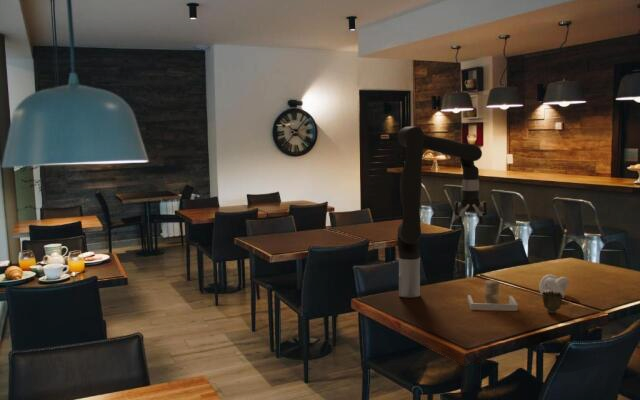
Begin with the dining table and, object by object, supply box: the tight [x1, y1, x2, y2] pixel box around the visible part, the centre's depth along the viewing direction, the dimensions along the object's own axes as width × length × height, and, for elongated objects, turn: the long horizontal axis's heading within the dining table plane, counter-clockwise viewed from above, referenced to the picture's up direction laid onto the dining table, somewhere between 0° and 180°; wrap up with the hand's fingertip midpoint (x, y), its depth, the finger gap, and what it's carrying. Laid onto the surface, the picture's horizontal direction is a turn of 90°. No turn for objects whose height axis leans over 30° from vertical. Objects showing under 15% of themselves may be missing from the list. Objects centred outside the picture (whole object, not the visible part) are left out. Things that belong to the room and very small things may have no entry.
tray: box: [467, 294, 519, 312], centre depth 240 cm, size 18×13×2 cm
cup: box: [541, 291, 563, 315], centre depth 228 cm, size 8×7×8 cm
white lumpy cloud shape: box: [538, 273, 569, 299], centre depth 252 cm, size 11×12×9 cm
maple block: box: [484, 279, 500, 304], centre depth 241 cm, size 5×5×10 cm
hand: (470, 224), depth 265 cm, fingers open, 8 cm apart
